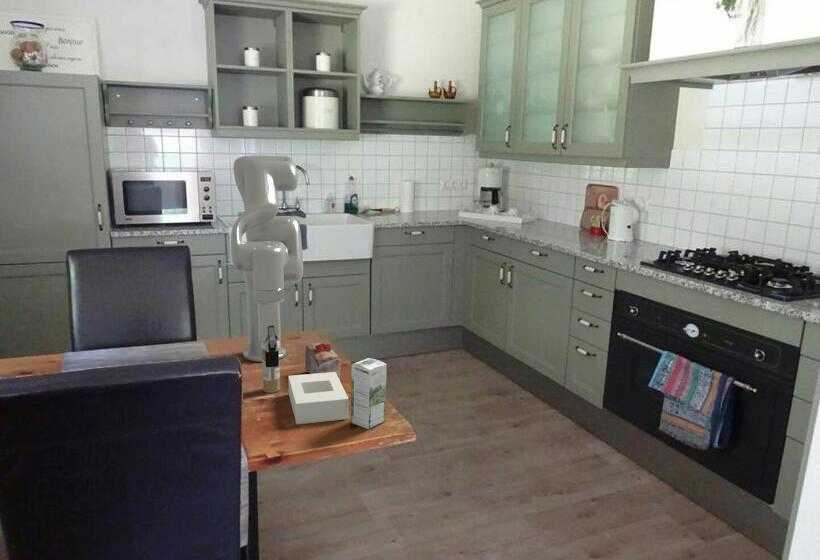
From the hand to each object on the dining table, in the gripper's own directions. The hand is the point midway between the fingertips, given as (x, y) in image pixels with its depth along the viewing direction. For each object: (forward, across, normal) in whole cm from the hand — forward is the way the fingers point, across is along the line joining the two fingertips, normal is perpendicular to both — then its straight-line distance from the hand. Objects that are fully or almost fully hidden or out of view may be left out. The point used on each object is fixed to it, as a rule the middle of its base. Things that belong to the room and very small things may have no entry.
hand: (270, 360), depth 157 cm
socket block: (+9, +12, +10) cm, 18 cm away
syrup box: (+9, +24, +20) cm, 33 cm away
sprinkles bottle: (+8, -1, 0) cm, 8 cm away
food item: (+8, -6, +14) cm, 17 cm away
